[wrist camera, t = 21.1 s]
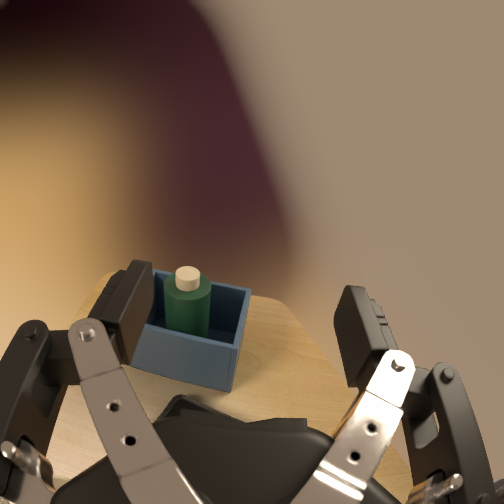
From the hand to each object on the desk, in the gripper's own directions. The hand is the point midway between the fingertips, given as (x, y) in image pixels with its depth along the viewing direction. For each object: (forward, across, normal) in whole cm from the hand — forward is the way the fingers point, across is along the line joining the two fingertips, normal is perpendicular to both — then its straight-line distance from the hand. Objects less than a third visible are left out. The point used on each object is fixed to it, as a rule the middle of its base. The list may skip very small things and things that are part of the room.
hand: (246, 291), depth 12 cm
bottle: (+16, +6, +24) cm, 29 cm away
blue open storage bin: (+16, +5, +24) cm, 30 cm away
